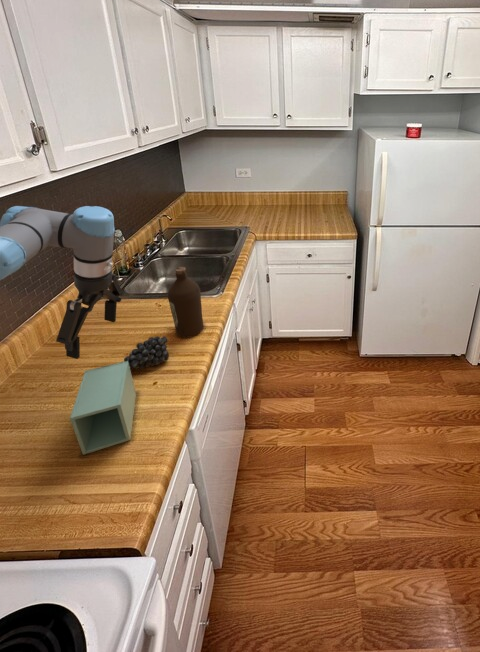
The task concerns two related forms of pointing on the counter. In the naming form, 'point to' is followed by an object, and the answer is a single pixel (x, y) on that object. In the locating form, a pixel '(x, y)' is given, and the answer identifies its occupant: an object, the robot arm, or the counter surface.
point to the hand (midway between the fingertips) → (92, 337)
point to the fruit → (148, 353)
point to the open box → (104, 407)
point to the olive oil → (185, 305)
